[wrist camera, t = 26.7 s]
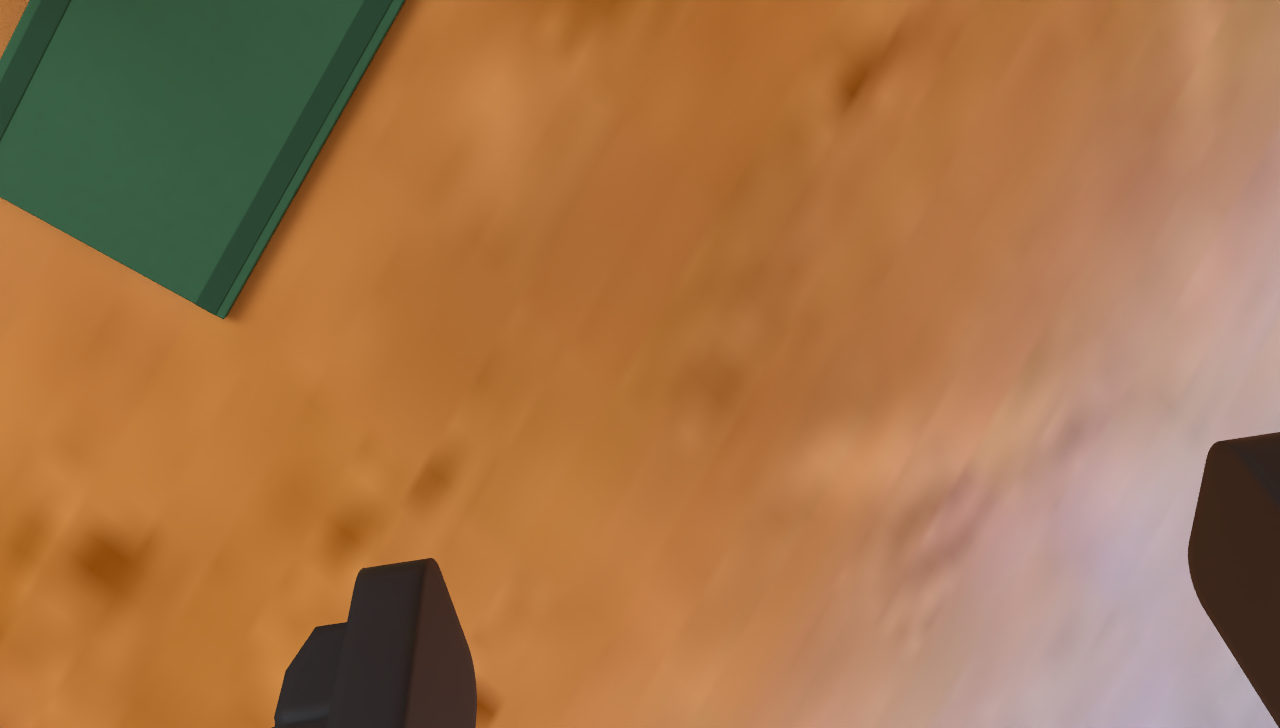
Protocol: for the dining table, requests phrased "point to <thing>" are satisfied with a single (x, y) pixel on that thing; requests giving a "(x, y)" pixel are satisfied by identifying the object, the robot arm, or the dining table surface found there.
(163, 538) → the dining table surface
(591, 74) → the dining table surface
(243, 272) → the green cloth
